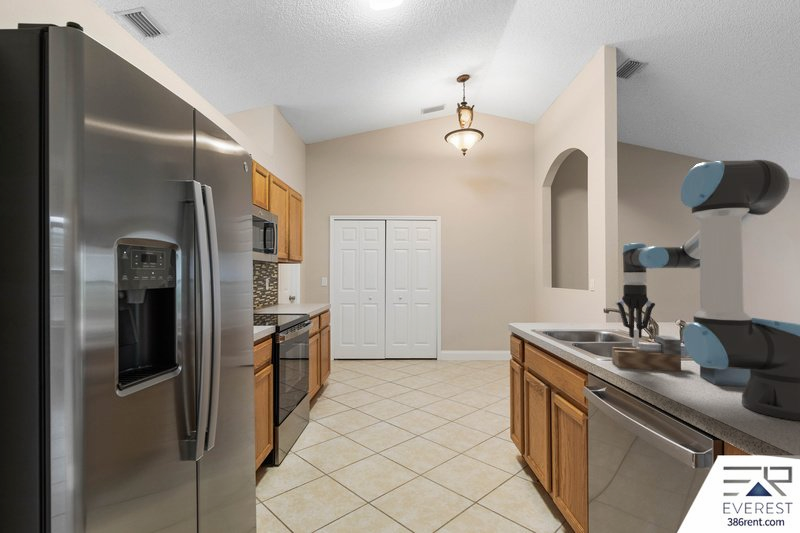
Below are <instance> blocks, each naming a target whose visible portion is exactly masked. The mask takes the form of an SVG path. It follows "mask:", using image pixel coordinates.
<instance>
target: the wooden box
mask: <svg viewBox="0 0 800 533" xmlns="http://www.w3.org/2000/svg"><path fill="white" fill-rule="evenodd" d="M654 336H655V342H654V343H662V348H663V353H656V352H636V347H617V346H612V347H611V361H612V363H613V364H614V365H616V367H617V368H624V369H625V368H626V369H639V370H640V369H642V370H658V371H672V372H673V371H675V372H682V356H681V344H682V340H681V339H679V338H676V337H674V336H672V335H661V334H660V335H657V334H656V335H655V334H654Z"/></svg>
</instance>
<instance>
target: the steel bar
mask: <svg viewBox="0 0 800 533" xmlns="http://www.w3.org/2000/svg"><path fill="white" fill-rule="evenodd" d="M635 348H636V352H656V353H663V348H662V343H655V342H644V341H643V342H642V341H639V347H635ZM682 356H683V357H690V355H689V354H688V352H687V350H686V348H685V345H684V343H681V357H682Z"/></svg>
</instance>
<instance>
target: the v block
mask: <svg viewBox="0 0 800 533" xmlns="http://www.w3.org/2000/svg"><path fill="white" fill-rule="evenodd" d="M699 377H700V378H702V379H703V380H705V381H707V382H709V383H711V384H713V385H714V386H726V387H743V388H745V387H746V385H747V382H748V380H749V378H750V369H717V368H706V367H703V366H700V365H699Z"/></svg>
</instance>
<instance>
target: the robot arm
mask: <svg viewBox="0 0 800 533" xmlns="http://www.w3.org/2000/svg"><path fill="white" fill-rule="evenodd" d="M790 183H791V182H790V177H789V175H788V173H787V171H786V169H785V168H784V167H783V166H781V165H780V164H778V163H777V162H774V161H771V160H767V159H752V160H747V159H746V160H714V161H706V162H701V163H697V164H696V165H694V166H693V167H692V168H690V170H689V171H688V172H687V173H686V175H685V177H684V178H683V181H682V184H681V187H680V200H681V202H682V204H683V205H684V206H686V207H687V208H691V216H692V217H694V218H695V219H697V221H698V230H697V232H696V233H695V234H694V235H693V236H692V237H690V238H689V239H688V240H687V241H686V242H685V243H684V244H683V245H681V246H652V245H651V246H647V245H646V244H645V243H642V242H641V243H640V242H636V243H625V244H624V245H623V247H622V262H623V263H622V266H623V268H622V269H623V274H622V275H623V276H622V277H623V279H622V280H623V283H624V284H623V291H622V292H623V293H622V294H623V296H622V298H621V300H619V301H616V302H615V306H616V307H617V308H618V311H619V314H620V317H621V321H622V324H623V327H625V328H628V333H629V334H628V336H629V338H631V346H633V348H636V347H639V342H640V340H639V339H641V338H642V337H643V336H642V331H643V329H647V328H648V326H649V323H650V318H651V314H652V310H653V309H654V307H655V306H656V303H655V302H652V301H650V300H649V297H648V295H647V292H648V290H647V289H648V288H647V287H648V286H647V285H646V284H647V280H648V279H647V269H692V270H693V269H699V287H700V288H699V292H700V293H699V294H700V295H699V297H700V302H699V303H700V309H699V310H698V311H697V312H696V313H694V314H693V322H690V323H687V324H686V326H685V327H684V329H683V332H682V341H683V344H684V345H685V348H686V350H687V352H688V354H689V357H690V358H691V360H692V361H694V363H696V364H698V365H699V367H700V366H703V367H706V368H717V369H750V378H749V380H748V382H747V385H746V387H744V390H743V392H742V394H741V405H742V406H743V407H745V408H746V409H749V410H750V411H753V412H756V413H760V414H763V415H767V416H771V417H775V418H779V419H785V420H790V421H798V422H800V323H796V322H795V323H793V322H787V321H780V320H772V319H766V318H759V317H751V316H750V315H749V314H747V312H745V311H744V310H745V309H744V273H743V272H744V271H743V270H744V269H743V268H744V267H743V266H744V265H743V264H744V263H743V228H745V227H746V226H747V225H748V224H749V223H751V222H752V221H753V220H754V219H756V218H757V217H758V216H764V215H767V214H769V213H770V212H772V211H773V209H775V208H776V207H778V206H779V205H780V203H781V202H782V201H783V200H784V199H785V198H786V196H787V194H788V192H789V188H790ZM624 304H625V305H626V307H627V310H628V311H627V312H628V316H627V314H626V311H625V310H626V309H625V307H624V306H625V305H624ZM645 305H646V307H645V311H644V315H643V308H644V306H645ZM635 316H636V317H635ZM635 318H636V319H635ZM635 320H636V321H635ZM635 324H636V325H635ZM635 327H636V328H635Z"/></svg>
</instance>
